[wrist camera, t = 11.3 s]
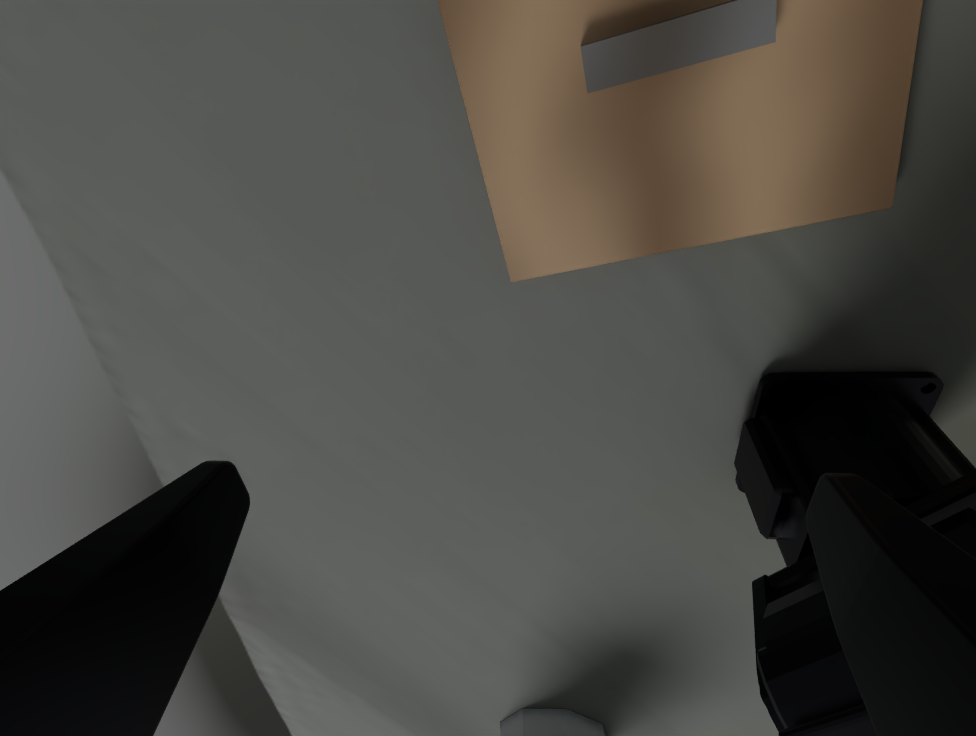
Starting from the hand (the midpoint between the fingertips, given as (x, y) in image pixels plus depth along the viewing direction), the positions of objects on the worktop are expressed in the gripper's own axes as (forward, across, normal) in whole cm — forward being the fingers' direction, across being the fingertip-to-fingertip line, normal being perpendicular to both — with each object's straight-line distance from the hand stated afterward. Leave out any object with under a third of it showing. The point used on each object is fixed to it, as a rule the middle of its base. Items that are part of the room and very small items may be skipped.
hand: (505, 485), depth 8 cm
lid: (+13, -4, -5) cm, 14 cm away
